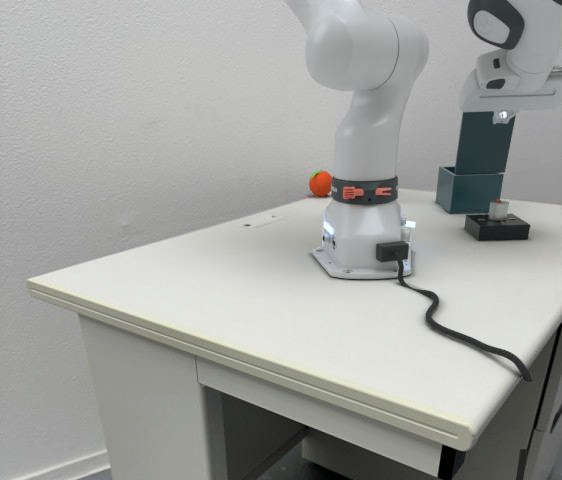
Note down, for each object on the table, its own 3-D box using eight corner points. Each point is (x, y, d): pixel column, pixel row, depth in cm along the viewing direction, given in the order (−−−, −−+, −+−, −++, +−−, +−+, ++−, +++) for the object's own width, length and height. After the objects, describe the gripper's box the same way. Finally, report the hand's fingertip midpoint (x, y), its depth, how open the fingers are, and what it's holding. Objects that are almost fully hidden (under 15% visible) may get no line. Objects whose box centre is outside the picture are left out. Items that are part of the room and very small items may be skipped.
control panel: (527, 239, 110) (530, 223, 109) (478, 240, 111) (480, 225, 109) (510, 227, 119) (512, 212, 118) (464, 228, 119) (466, 214, 118)
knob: (508, 221, 112) (512, 202, 110) (491, 221, 112) (494, 202, 110) (502, 217, 115) (505, 198, 113) (485, 217, 115) (488, 199, 113)
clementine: (320, 200, 151) (320, 173, 148) (301, 197, 156) (301, 171, 152) (338, 195, 156) (338, 169, 153) (319, 192, 161) (319, 167, 157)
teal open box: (435, 201, 145) (439, 166, 141) (479, 200, 145) (484, 165, 141) (449, 213, 132) (454, 175, 128) (497, 212, 132) (504, 174, 128)
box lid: (464, 100, 120) (465, 100, 119) (517, 98, 119) (519, 98, 119) (454, 173, 128) (455, 174, 127) (503, 171, 128) (504, 172, 127)
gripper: (579, 51, 102) (547, 107, 115) (469, 55, 103) (450, 110, 116) (585, 78, 100) (551, 132, 114) (473, 82, 101) (453, 135, 114)
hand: (499, 121), depth 115 cm, fingers closed
